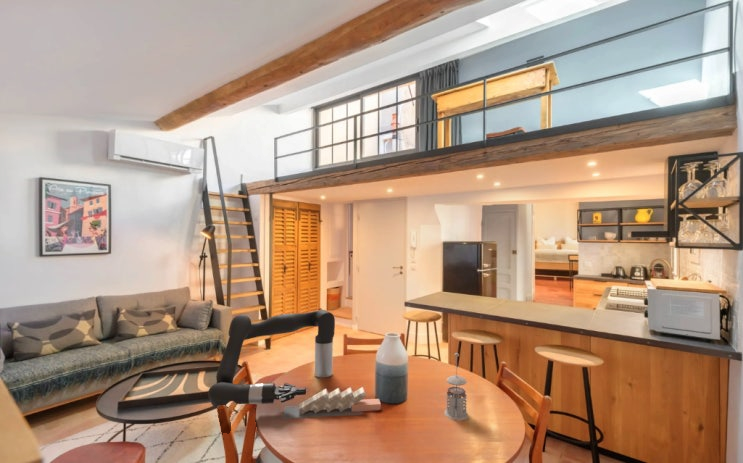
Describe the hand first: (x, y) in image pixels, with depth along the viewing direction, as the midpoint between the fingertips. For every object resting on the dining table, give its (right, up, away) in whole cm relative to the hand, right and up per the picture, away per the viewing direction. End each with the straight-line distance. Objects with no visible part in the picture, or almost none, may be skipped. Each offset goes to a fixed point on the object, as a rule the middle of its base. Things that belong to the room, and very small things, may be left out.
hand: (306, 391), depth 140 cm
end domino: (+18, -7, +2) cm, 20 cm away
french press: (+61, -10, 0) cm, 62 cm away
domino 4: (+13, -7, +2) cm, 15 cm away
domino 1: (-2, -7, 0) cm, 7 cm away
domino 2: (+3, -7, 0) cm, 8 cm away
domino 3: (+8, -7, +1) cm, 11 cm away
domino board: (+7, -9, +1) cm, 11 cm away
